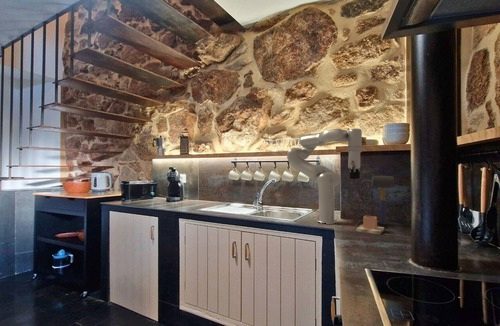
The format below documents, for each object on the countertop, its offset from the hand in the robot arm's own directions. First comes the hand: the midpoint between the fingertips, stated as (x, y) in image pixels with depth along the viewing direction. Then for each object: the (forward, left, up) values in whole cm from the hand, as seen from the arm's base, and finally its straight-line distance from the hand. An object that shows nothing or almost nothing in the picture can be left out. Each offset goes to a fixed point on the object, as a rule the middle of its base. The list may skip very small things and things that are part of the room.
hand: (354, 178), depth 153 cm
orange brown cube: (+9, -4, -27) cm, 29 cm away
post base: (+9, -4, -28) cm, 30 cm away
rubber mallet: (+12, +19, -28) cm, 36 cm away
